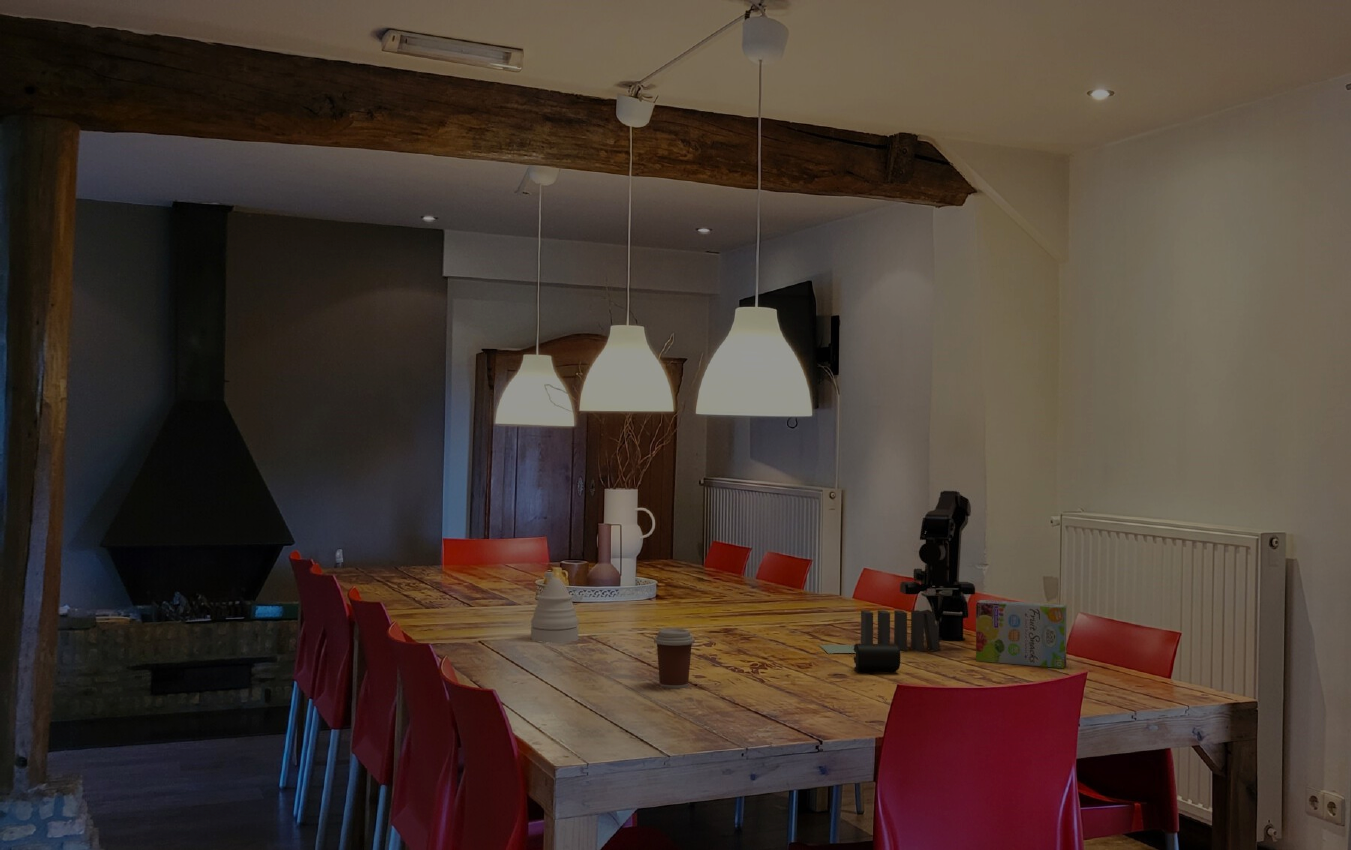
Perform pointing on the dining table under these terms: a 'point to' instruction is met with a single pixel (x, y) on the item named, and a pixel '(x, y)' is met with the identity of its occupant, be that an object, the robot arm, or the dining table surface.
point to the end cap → (877, 657)
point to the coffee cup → (674, 657)
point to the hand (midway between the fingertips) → (937, 620)
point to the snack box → (1021, 633)
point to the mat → (838, 648)
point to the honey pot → (554, 614)
